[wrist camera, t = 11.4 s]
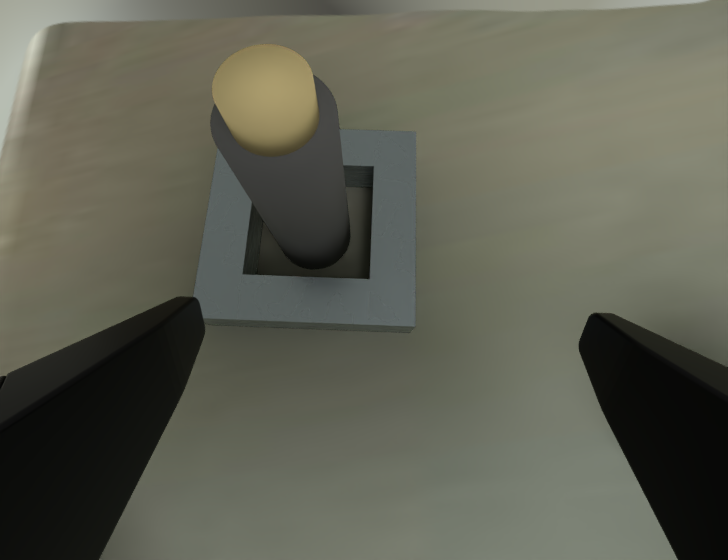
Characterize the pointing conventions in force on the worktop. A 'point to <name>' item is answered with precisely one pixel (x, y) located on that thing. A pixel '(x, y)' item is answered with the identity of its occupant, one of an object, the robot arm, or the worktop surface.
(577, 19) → the worktop surface
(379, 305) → the housing
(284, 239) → the plug
